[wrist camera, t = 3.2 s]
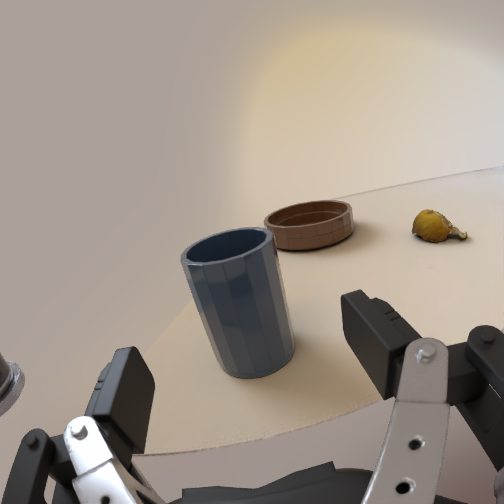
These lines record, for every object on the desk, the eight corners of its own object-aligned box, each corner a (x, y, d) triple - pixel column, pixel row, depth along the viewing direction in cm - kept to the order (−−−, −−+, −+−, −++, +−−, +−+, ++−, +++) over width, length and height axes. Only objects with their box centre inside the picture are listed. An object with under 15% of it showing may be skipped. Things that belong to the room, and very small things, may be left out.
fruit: (473, 240, 31) (474, 214, 30) (426, 250, 33) (426, 223, 31) (446, 222, 39) (445, 200, 38) (403, 230, 40) (402, 207, 39)
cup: (209, 378, 22) (165, 270, 18) (228, 330, 28) (198, 235, 24) (292, 376, 20) (265, 256, 17) (296, 324, 26) (276, 221, 23)
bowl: (263, 259, 43) (258, 233, 41) (273, 228, 56) (269, 208, 54) (361, 245, 39) (358, 218, 38) (347, 217, 52) (344, 196, 51)
